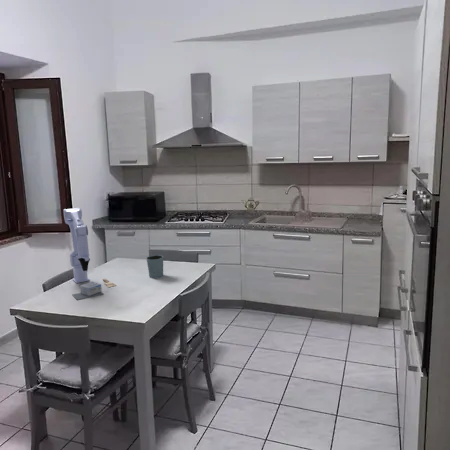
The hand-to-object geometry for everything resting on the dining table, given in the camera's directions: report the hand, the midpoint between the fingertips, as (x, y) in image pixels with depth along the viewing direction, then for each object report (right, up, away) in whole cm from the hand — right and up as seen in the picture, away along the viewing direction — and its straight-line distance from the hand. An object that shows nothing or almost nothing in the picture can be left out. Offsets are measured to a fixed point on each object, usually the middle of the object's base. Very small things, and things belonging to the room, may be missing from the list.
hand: (85, 270), depth 227 cm
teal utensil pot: (+37, -6, +20) cm, 42 cm away
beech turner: (+10, -9, +9) cm, 16 cm away
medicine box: (+2, -9, -5) cm, 10 cm away
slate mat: (+5, -12, -9) cm, 16 cm away
